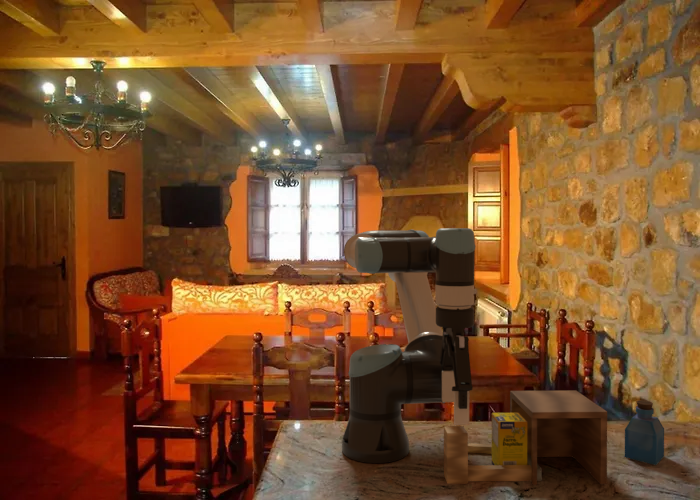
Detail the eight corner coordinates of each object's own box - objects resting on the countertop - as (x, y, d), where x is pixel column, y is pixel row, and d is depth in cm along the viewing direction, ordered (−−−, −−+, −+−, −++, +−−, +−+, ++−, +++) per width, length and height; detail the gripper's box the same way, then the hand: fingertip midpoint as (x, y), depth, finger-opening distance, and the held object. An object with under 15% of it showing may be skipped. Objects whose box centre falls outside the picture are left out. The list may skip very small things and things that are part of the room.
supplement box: (528, 474, 113) (528, 421, 113) (498, 475, 113) (498, 421, 113) (519, 462, 119) (519, 412, 119) (491, 463, 119) (491, 412, 119)
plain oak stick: (458, 453, 126) (458, 445, 126) (458, 450, 127) (458, 442, 127) (513, 456, 124) (513, 448, 124) (512, 453, 125) (512, 445, 125)
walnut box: (532, 484, 109) (532, 412, 108) (510, 454, 124) (510, 390, 123) (606, 484, 109) (607, 411, 108) (575, 454, 124) (575, 390, 123)
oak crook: (447, 483, 109) (447, 433, 109) (437, 459, 121) (437, 413, 121) (543, 483, 109) (543, 432, 109) (524, 458, 121) (524, 413, 121)
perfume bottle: (624, 457, 122) (624, 402, 122) (633, 449, 126) (633, 396, 126) (656, 465, 118) (656, 408, 117) (664, 456, 122) (664, 402, 122)
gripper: (489, 316, 98) (489, 435, 99) (461, 298, 123) (460, 393, 124) (447, 316, 98) (446, 435, 99) (426, 298, 123) (426, 393, 124)
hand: (454, 412), depth 111 cm, fingers open, 13 cm apart
